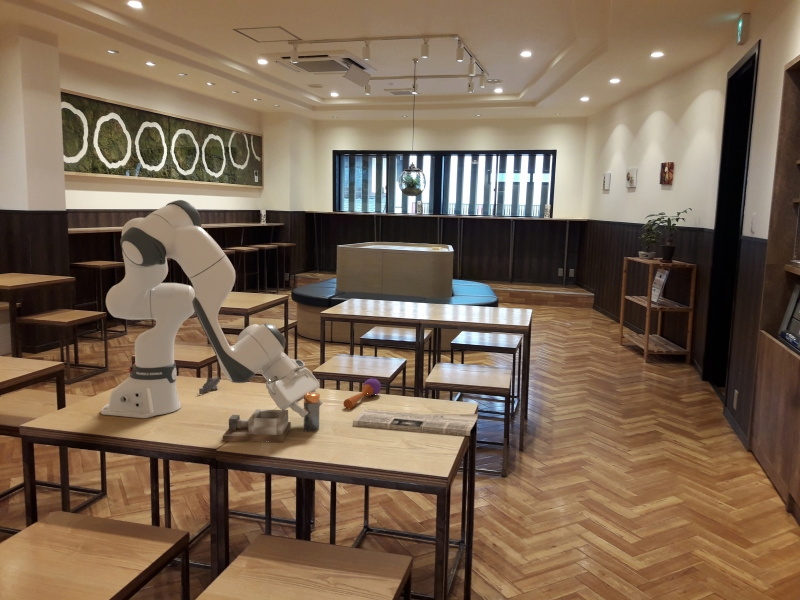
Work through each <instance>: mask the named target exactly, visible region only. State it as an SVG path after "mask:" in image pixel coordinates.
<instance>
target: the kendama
mask: <svg viewBox="0 0 800 600" xmlns="http://www.w3.org/2000/svg"><path fill="white" fill-rule="evenodd" d="M381 389H382V385H381V382H380V380H378V379H376V378H372V377H371V378H369V379H366V380H365V382H364V383H363V386H362V389H361V392H360V393H358V394H356V395H353V396H351V397H348V398H347V399H344V401H343V406H344V408H345V407H346V408H345V409H347V408H351V409H353V408H354V406H355V405H356V404H358V402H359V401H360V400H361V399H362V398H363V397H372V396H371V395H375V394H377V395H379V394H380V392H381ZM367 393H368V394H367Z"/></svg>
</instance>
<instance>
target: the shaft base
mask: <svg viewBox="0 0 800 600" xmlns="http://www.w3.org/2000/svg"><path fill="white" fill-rule="evenodd" d="M291 428H292V422H291V421H289V410H288V409H285V410H281V409H259V408H258V409H255V411H253V413H252V414H251V416H250V417H249V418H248V419H241V417H240V414H232V415H230V417H229V418H228V428H227V430H225V432H224V434H222V442H240V441H253V442H252V443H254V441H258V442H257V443H284V441H285V439H286V438H287V436H288V434H287V433H289V432H288V431H290V430H291ZM289 429H290V430H289ZM259 441H260V442H259ZM261 441H263V442H261ZM266 441H267V442H266ZM268 441H269V442H268Z"/></svg>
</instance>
